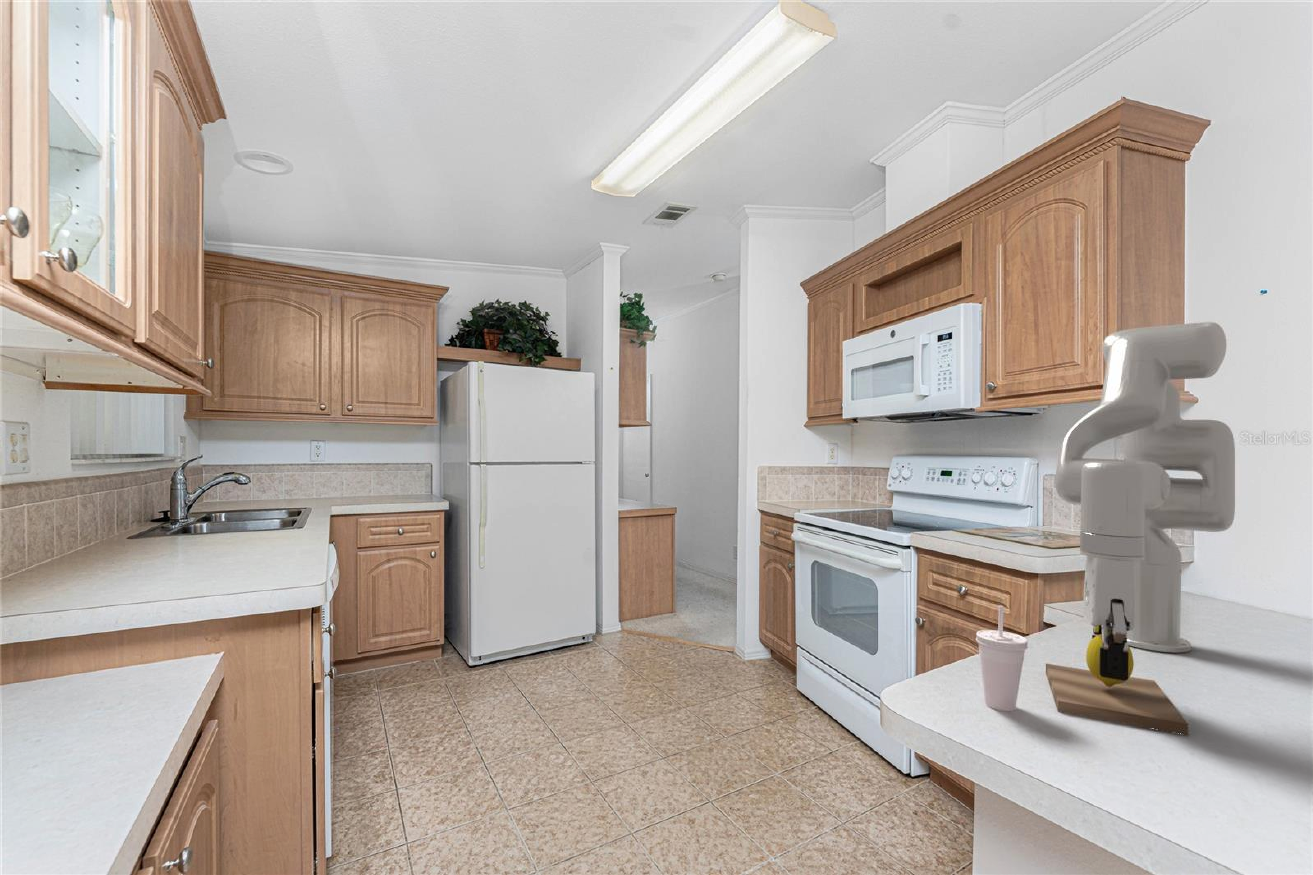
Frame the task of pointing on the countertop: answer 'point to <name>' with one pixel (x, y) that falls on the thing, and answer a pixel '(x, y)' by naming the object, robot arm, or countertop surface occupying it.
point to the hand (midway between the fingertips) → (1109, 669)
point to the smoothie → (1001, 665)
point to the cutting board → (1114, 700)
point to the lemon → (1094, 661)
